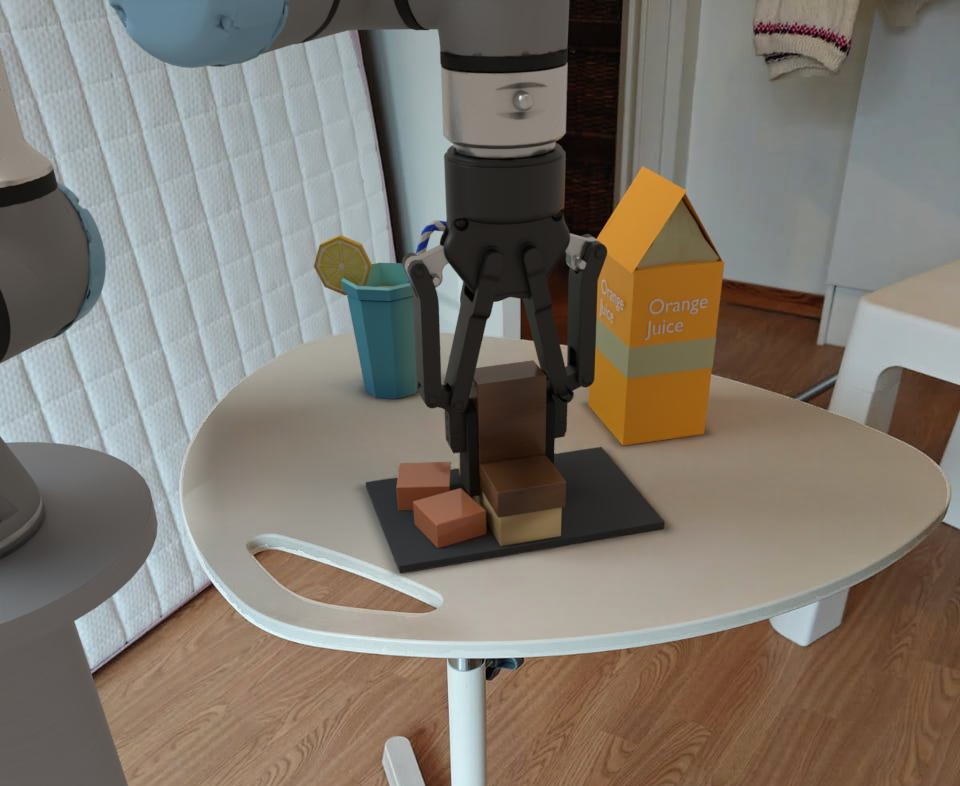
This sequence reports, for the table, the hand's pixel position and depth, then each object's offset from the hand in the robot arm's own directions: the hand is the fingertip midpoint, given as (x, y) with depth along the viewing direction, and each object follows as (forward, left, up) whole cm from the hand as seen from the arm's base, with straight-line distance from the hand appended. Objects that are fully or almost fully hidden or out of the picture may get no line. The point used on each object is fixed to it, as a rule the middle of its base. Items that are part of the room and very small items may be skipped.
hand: (506, 481), depth 76 cm
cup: (-3, +26, -3) cm, 26 cm away
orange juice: (+16, +12, -3) cm, 20 cm away
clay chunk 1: (-6, +3, -2) cm, 7 cm away
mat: (0, 0, -2) cm, 3 cm away
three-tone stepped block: (0, 0, -2) cm, 2 cm away
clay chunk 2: (-5, -2, -2) cm, 6 cm away
